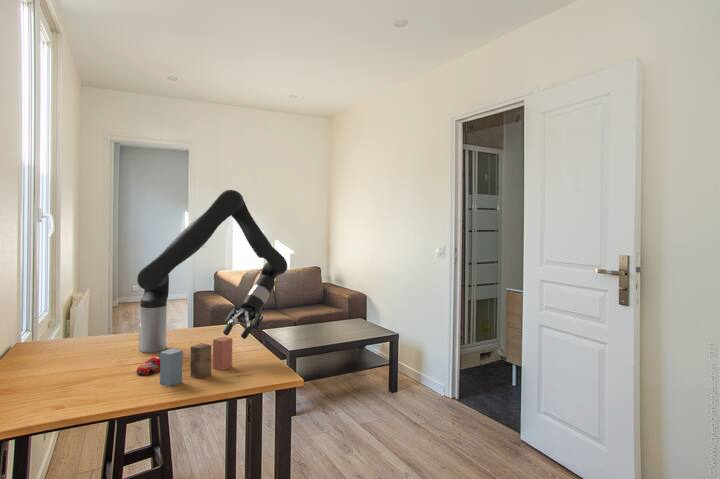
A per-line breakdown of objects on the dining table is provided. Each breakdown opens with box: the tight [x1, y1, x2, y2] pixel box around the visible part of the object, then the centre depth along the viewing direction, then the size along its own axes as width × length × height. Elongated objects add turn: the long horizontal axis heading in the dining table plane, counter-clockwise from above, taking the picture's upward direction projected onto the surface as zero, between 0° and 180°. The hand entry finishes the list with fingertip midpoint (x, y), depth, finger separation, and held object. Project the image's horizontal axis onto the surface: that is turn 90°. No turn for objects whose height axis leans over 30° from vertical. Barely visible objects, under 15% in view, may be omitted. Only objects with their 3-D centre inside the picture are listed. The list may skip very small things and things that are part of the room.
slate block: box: [159, 348, 183, 387], centre depth 132 cm, size 4×4×10 cm
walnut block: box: [189, 342, 212, 380], centre depth 139 cm, size 4×4×10 cm
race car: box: [136, 355, 160, 376], centre depth 144 cm, size 13×5×4 cm, turn 161°
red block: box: [212, 336, 233, 371], centre depth 147 cm, size 4×4×10 cm
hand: (233, 336), depth 152 cm, fingers open, 8 cm apart
